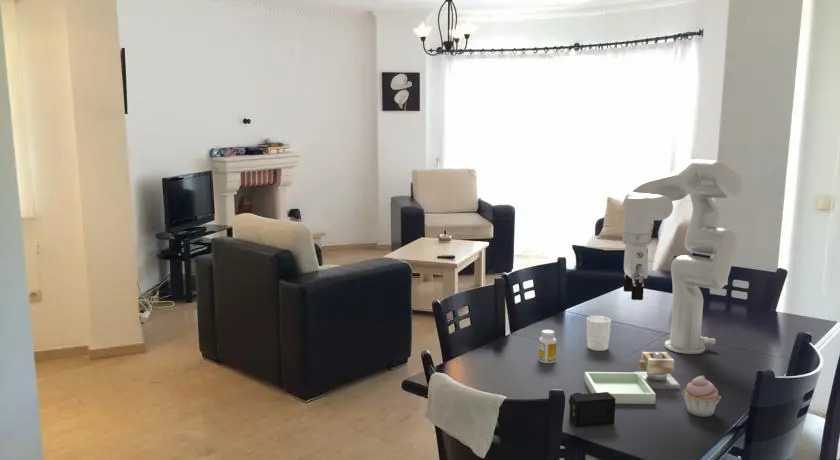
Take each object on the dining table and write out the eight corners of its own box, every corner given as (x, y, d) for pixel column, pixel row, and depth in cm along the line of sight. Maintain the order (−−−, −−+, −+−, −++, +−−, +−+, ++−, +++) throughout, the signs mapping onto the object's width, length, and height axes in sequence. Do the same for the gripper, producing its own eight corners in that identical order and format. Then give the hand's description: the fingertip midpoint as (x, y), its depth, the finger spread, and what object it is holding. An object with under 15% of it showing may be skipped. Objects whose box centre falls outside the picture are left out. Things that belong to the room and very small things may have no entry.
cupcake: (727, 418, 169) (730, 381, 168) (695, 421, 167) (697, 384, 166) (704, 403, 178) (707, 367, 177) (673, 406, 176) (676, 370, 175)
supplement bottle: (556, 358, 212) (557, 329, 211) (554, 364, 207) (555, 334, 206) (540, 356, 214) (540, 328, 212) (537, 362, 209) (538, 333, 207)
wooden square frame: (665, 364, 196) (665, 351, 195) (673, 373, 189) (674, 360, 188) (635, 364, 196) (636, 351, 195) (642, 373, 189) (643, 360, 188)
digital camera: (604, 415, 171) (606, 389, 170) (614, 424, 166) (615, 398, 165) (567, 418, 169) (568, 392, 168) (575, 427, 164) (576, 401, 163)
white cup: (610, 352, 218) (612, 323, 217) (586, 350, 220) (587, 321, 218) (608, 344, 226) (610, 316, 224) (585, 343, 227) (586, 315, 226)
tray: (637, 381, 193) (638, 372, 193) (655, 403, 178) (655, 394, 177) (584, 381, 194) (584, 371, 193) (596, 403, 178) (597, 393, 178)
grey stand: (667, 375, 198) (669, 347, 196) (679, 389, 188) (681, 359, 186) (634, 375, 198) (635, 347, 196) (644, 388, 188) (645, 359, 187)
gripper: (657, 244, 184) (653, 303, 187) (641, 234, 201) (638, 288, 204) (630, 243, 185) (626, 302, 187) (616, 233, 202) (613, 288, 204)
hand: (632, 295), depth 196 cm, fingers open, 9 cm apart
